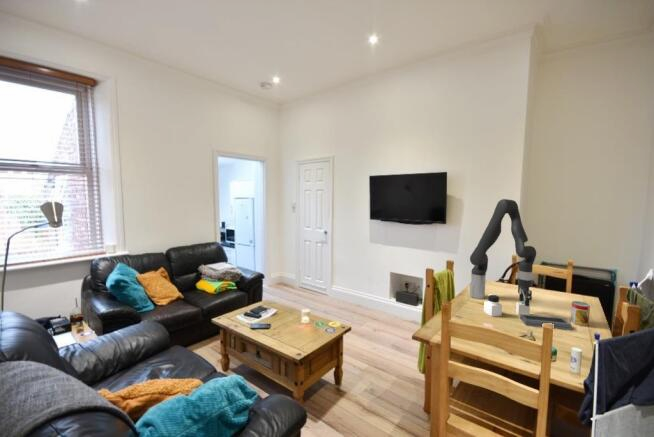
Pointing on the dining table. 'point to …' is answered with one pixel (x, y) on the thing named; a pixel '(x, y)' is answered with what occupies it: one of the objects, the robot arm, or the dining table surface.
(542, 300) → the dining table surface
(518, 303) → the block
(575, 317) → the canned food
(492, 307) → the medicine bottle
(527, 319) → the grey rectangular tray
